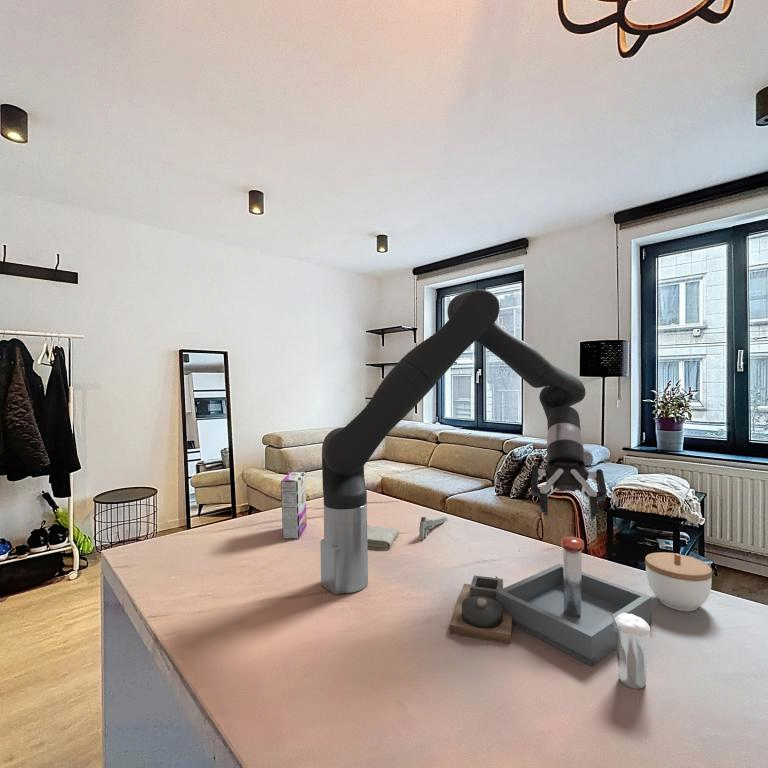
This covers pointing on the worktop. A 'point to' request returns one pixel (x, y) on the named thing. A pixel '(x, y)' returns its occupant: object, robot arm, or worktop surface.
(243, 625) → the worktop surface
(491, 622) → the wooden stand
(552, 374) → the robot arm
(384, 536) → the washcloth
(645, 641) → the milkshake
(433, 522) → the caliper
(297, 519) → the candy bar box
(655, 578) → the lidded jar
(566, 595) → the pin
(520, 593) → the tray
